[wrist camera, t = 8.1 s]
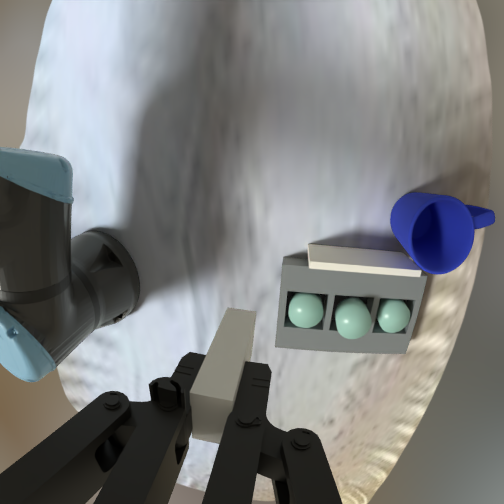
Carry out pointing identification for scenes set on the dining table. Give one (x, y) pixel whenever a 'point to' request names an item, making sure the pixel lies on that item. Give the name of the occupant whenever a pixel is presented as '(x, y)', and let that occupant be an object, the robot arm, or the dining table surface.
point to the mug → (437, 229)
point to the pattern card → (361, 260)
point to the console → (347, 284)
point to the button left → (305, 309)
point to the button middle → (352, 318)
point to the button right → (392, 314)
